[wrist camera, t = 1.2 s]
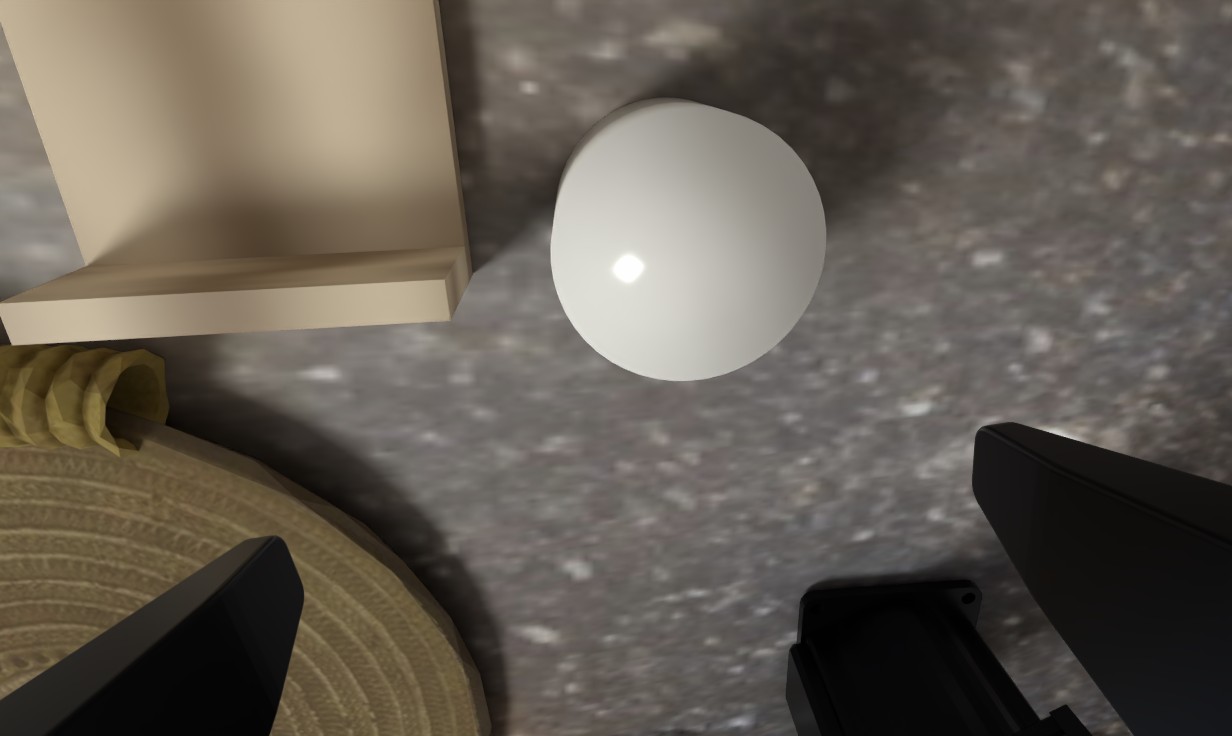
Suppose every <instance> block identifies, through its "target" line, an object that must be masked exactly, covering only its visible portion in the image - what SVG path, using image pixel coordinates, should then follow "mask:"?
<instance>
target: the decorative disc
mask: <svg viewBox="0 0 1232 736" xmlns="http://www.w3.org/2000/svg"><path fill="white" fill-rule="evenodd" d="M164 361H165V359H163V358H161V357H159V356H158V355H156V354H153V353H151V352H149V351H147V350H144V349H139V350H133V351H127V352H121V351H116V350H112V349H107V348H98V349H93V350H89V349H86V348H84V347H82V346H79V345H61V346H56V347H52V346H49V345H46V344H28V345H12V344H10V345H2V344H0V700H1V699H2V698H4V697H5V696H7V695H8V694H10V693H11V692H13V691H15V690H16V689H18V688H19V687H21V686H22V685H24V684H25V683H27V682H28V681H30V680H31V679H33V678H34V677H36V676H37V675H39V674H41V673H42V672H44V671H45V670H47V669H48V668H50V667H51V666H53V665H54V664H56V663H57V662H59V661H60V660H62V659H63V658H65V657H67V656H68V655H70V654H71V653H73V652H74V651H76V650H77V649H79V648H80V647H82V646H83V645H85V644H86V643H88V642H89V641H91V640H93V639H94V638H96V637H97V636H99V635H100V634H102V633H103V632H105V631H106V630H108V629H109V628H111V627H112V626H114V625H116V624H117V623H119V622H120V621H122V620H123V619H125V618H126V617H128V616H129V615H131V614H132V613H134V612H135V611H137V610H138V609H140V608H142V607H143V606H145V605H146V604H148V603H149V602H151V601H152V600H154V599H155V598H157V597H158V596H160V595H161V594H163V593H164V592H166V591H168V590H169V589H171V588H172V587H174V586H175V585H177V584H178V583H180V582H181V581H183V580H184V579H186V578H187V577H189V576H190V575H192V574H194V573H195V572H197V571H198V570H200V569H201V568H203V567H204V566H206V565H207V564H209V563H210V562H212V561H213V560H215V559H217V558H218V557H220V556H221V555H223V554H224V553H226V552H227V551H229V550H230V549H232V548H233V547H235V546H236V545H238V544H239V543H241V542H243V541H244V540H247V539H251V538H257V537H264V536H270V535H277V536H279V537H281V538H282V539H283V540H284V541H285V543H286V545H287V547H288V549H289V552H290V554H291V556H292V559H293V561H294V564H295V566H296V569H297V571H298V573H299V576H300V578H301V581H302V584H303V587H304V605H303V609H302V614H301V618H300V622H299V626H298V630H297V634H296V639H295V643H294V647H293V651H292V655H291V659H290V663H289V668H288V672H287V676H286V680H285V684H284V688H283V692H282V696H281V700H280V704H279V707H278V711H277V714H276V718H275V721H274V724H273V727H272V730H271V733H270V736H491V727H492V726H491V721H490V717H489V712H488V708H487V703H486V699H485V694H484V690H483V685H482V681H481V676H480V673H479V671H478V669H477V667H476V665H475V663H474V661H473V659H472V657H471V655H470V654H469V652H468V650H467V648H466V646H465V644H464V642H463V640H462V638H461V636H460V634H459V632H458V630H457V628H456V627H455V625H454V623H453V621H452V619H451V617H450V616H449V615H448V613H447V612H446V611H445V610H444V608H443V607H442V606H441V605H440V604H439V603H438V601H437V600H436V599H435V598H434V597H433V596H432V594H431V593H430V592H429V591H428V590H427V589H426V587H425V586H424V585H423V584H422V583H421V582H420V580H419V579H418V578H417V577H416V576H415V575H414V573H413V572H412V571H411V570H410V569H409V567H408V566H407V565H406V564H405V563H404V562H403V561H402V560H401V559H400V558H399V557H398V556H397V555H396V554H395V553H394V552H393V551H392V550H391V549H390V548H389V547H388V546H387V545H386V544H385V543H384V542H383V541H382V540H381V539H380V538H379V537H378V536H377V535H376V534H375V533H374V532H373V531H372V530H371V529H370V528H369V527H368V526H367V525H365V524H364V523H362V522H360V521H359V520H357V519H355V518H354V517H352V516H350V515H349V514H347V513H345V512H344V511H342V510H340V509H339V508H337V507H335V506H334V505H332V504H330V503H329V502H327V501H325V500H324V499H322V498H320V497H319V496H317V495H315V494H314V493H312V492H310V491H309V490H307V489H305V488H304V487H302V486H300V485H299V484H297V483H295V482H294V481H292V480H290V479H289V478H287V477H285V476H284V475H282V474H280V473H279V472H277V471H275V470H274V469H272V468H270V467H269V466H267V465H265V464H264V463H262V462H260V461H259V460H257V459H255V458H253V457H250V456H247V455H244V454H242V453H239V452H236V451H234V450H231V449H228V448H225V447H223V446H220V445H217V444H215V443H212V442H209V441H207V440H204V439H201V438H198V437H196V436H193V435H190V434H188V433H185V432H182V431H179V430H177V429H174V428H171V427H169V426H166V425H165V423H166V419H167V415H168V411H169V407H170V405H169V402H168V398H167V393H166V385H165V367H164Z"/></svg>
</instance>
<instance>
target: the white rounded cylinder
mask: <svg viewBox="0 0 1232 736" xmlns="http://www.w3.org/2000/svg"><path fill="white" fill-rule="evenodd" d="M825 251H826V224H825V215H824V210H823V206H822V202H821V198H820V195H819V192H818V190H817V187H816V185H815V183H814V180H813V178H812V176H811V175H810V173H809V171H808V169H807V168H806V166H805V164H804V163H803V161H802V160H801V159H800V158H799V157H798V155H797V154H796V153H795V152H794V150H793V149H792V148H791V147H790V146H789V145H788V144H787V143H786V142H784V141H783V140H782V139H781V138H780V137H779V136H778V135H776V134H775V133H773V132H772V131H770V130H769V129H768V128H766V127H765V126H763V125H761V124H759V123H757V122H755V121H753V120H751V119H749V118H747V117H744V116H741V115H738V114H735V113H731V112H728V111H725V110H722V109H718V108H715V107H712V106H708V105H705V104H701V103H698V102H695V101H691V100H686V99H680V98H663V97H661V98H652V99H645V100H641V101H638V102H634V103H631V104H628V105H626V106H624V107H621V108H619V109H617V110H615V111H613V112H612V113H610V114H608V115H607V116H605V117H604V118H602V119H601V120H600V121H599V122H597V123H596V124H595V125H594V126H593V127H592V128H591V129H590V130H589V131H588V132H587V133H586V134H585V135H584V136H583V137H582V138H581V140H580V141H579V142H578V144H577V145H576V146H575V148H574V149H573V151H572V153H571V155H570V156H569V158H568V160H567V162H566V165H565V167H564V170H563V172H562V174H561V178H560V182H559V186H558V191H557V199H556V207H555V214H554V222H553V230H552V238H551V266H552V273H553V280H554V283H555V287H556V290H557V294H558V297H559V299H560V302H561V304H562V306H563V308H564V311H565V313H566V314H567V316H568V318H569V319H570V321H571V323H572V324H573V326H574V327H575V329H576V330H577V331H578V332H579V334H580V335H581V336H582V337H583V338H584V340H585V341H586V342H587V343H588V344H590V345H591V346H592V347H593V348H594V349H595V350H596V351H597V352H598V353H600V354H601V355H603V356H604V357H605V358H607V359H608V360H609V361H611V362H613V363H615V364H617V365H618V366H620V367H622V368H624V369H626V370H629V371H632V372H634V373H637V374H639V375H643V376H647V377H651V378H655V379H662V380H670V381H692V380H700V379H707V378H711V377H715V376H720V375H723V374H726V373H729V372H731V371H734V370H737V369H739V368H741V367H743V366H745V365H747V364H749V363H751V362H753V361H755V360H756V359H758V358H759V357H761V356H762V355H764V354H765V353H767V352H768V351H769V350H770V349H772V348H773V347H774V346H775V345H776V344H778V343H779V342H780V341H781V340H782V339H783V338H784V337H785V336H786V335H787V334H788V333H789V332H790V330H791V329H792V328H793V327H794V326H795V324H796V323H797V322H798V320H799V319H800V318H801V316H802V315H803V313H804V312H805V310H806V308H807V306H808V305H809V303H810V301H811V299H812V297H813V295H814V292H815V290H816V288H817V285H818V283H819V279H820V276H821V272H822V269H823V265H824V258H825Z"/></svg>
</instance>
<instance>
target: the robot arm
mask: <svg viewBox="0 0 1232 736" xmlns="http://www.w3.org/2000/svg"><path fill="white" fill-rule="evenodd" d="M972 487H973V492H974V495H975V498H976V500H977V502H978V504H979V506H980V507H981V509H982V511H983V513H984V514H985V516H986V518H987V519H988V521H989V523H990V525H991V526H992V528H993V530H994V532H995V533H996V535H997V537H998V538H999V540H1000V542H1001V544H1002V545H1003V547H1004V549H1005V551H1006V552H1007V554H1008V556H1009V557H1010V559H1011V561H1012V563H1013V564H1014V566H1015V568H1016V570H1017V571H1018V573H1019V575H1020V576H1021V578H1022V580H1023V582H1024V583H1025V585H1026V587H1027V588H1028V590H1029V591H1030V593H1031V595H1032V596H1033V598H1034V599H1035V601H1036V602H1037V604H1038V605H1039V607H1040V608H1041V609H1042V611H1043V612H1044V614H1045V615H1046V617H1047V618H1048V619H1049V621H1050V622H1051V623H1052V625H1053V626H1054V627H1055V629H1056V630H1057V632H1058V633H1059V634H1060V636H1061V637H1062V638H1063V640H1064V641H1065V642H1066V644H1067V645H1068V647H1069V648H1070V649H1071V651H1072V652H1073V653H1074V655H1075V656H1076V657H1077V659H1078V660H1079V662H1080V663H1081V664H1082V666H1083V667H1084V668H1085V670H1086V671H1087V672H1088V674H1089V675H1090V677H1091V678H1092V679H1093V681H1094V682H1095V683H1096V685H1097V686H1098V687H1099V689H1100V690H1101V692H1102V693H1103V694H1104V696H1105V697H1106V698H1107V700H1108V701H1109V702H1110V704H1111V705H1112V707H1113V708H1114V709H1115V711H1116V712H1117V713H1118V715H1119V716H1120V717H1121V719H1122V720H1123V722H1124V723H1125V724H1126V726H1127V727H1128V728H1129V730H1130V731H1131V732H1132V734H1133V735H1134V736H1232V486H1231V485H1227V484H1224V483H1220V482H1217V481H1214V480H1210V479H1207V478H1203V477H1200V476H1196V475H1193V474H1190V473H1186V472H1183V471H1179V470H1176V469H1172V468H1169V467H1166V466H1162V465H1159V464H1155V463H1152V462H1149V461H1145V460H1142V459H1138V458H1135V457H1131V456H1128V455H1125V454H1121V453H1118V452H1114V451H1111V450H1107V449H1104V448H1101V447H1097V446H1094V445H1090V444H1087V443H1084V442H1080V441H1077V440H1073V439H1070V438H1066V437H1063V436H1060V435H1056V434H1053V433H1049V432H1046V431H1042V430H1039V429H1036V428H1032V427H1029V426H1025V425H1022V424H1018V423H1014V422H1006V423H1000V424H993V425H987V426H983V427H981V428H980V429H979V430H978V431H977V433H976V436H975V445H974V459H973V473H972ZM967 593H968V594H967ZM965 594H967V595H965ZM964 595H965V596H964ZM981 600H982V593H981V591H980V590H979V588H978V587H977V586H976V585H975V583H974V582H972V581H970V580H957V581H942V582H928V583H914V584H900V585H886V586H872V587H858V588H844V589H829V590H815V591H810V592H808V593H806V594H805V595H804V596H803V597H802V598H801V601H800V608H799V620H798V632H797V644H793V645H792V647H791V648H790V650H789V658H788V671H787V684H786V700H787V703H788V706H789V709H790V712H791V715H792V718H793V721H794V724H795V727H796V730H797V733H798V736H1092V735H1091V733H1090V732H1089V731H1088V730H1087V729H1086V727H1085V726H1084V725H1083V724H1082V723H1081V721H1080V720H1079V719H1078V718H1077V717H1076V715H1075V714H1074V713H1073V712H1072V711H1071V709H1070V708H1069V707H1068V706H1067V705H1066V704H1065V705H1063V706H1061V707H1059V708H1057V709H1055V710H1053V711H1051V712H1049V713H1050V715H1051V716H1049V717H1047V718H1045V719H1043V720H1040V718H1039V717H1038V715H1037V714H1036V713H1035V711H1034V710H1033V708H1032V707H1031V706H1030V704H1029V703H1028V701H1027V700H1026V699H1025V697H1024V696H1023V694H1022V693H1021V692H1020V690H1019V689H1018V687H1017V686H1016V684H1015V683H1014V682H1013V680H1012V679H1011V677H1010V676H1009V675H1008V673H1007V672H1006V670H1005V669H1004V668H1003V666H1002V665H1001V663H1000V662H999V661H998V659H997V658H996V656H995V655H994V654H993V652H992V651H991V649H990V648H989V647H988V645H987V644H986V642H985V641H984V640H983V638H982V637H981V635H980V634H979V633H978V631H977V630H976V624H977V619H978V614H979V609H980V605H981ZM815 604H819V605H817V606H815V607H812V606H813V605H815ZM303 605H304V587H303V584H302V581H301V578H300V576H299V573H298V571H297V569H296V566H295V564H294V561H293V559H292V556H291V554H290V552H289V549H288V547H287V545H286V543H285V541H284V540H283V539H282V538H281V537H279V536H277V535H270V536H264V537H257V538H251V539H247V540H244V541H243V542H241V543H239V544H238V545H236V546H235V547H233V548H232V549H230V550H229V551H227V552H226V553H224V554H223V555H221V556H220V557H218V558H217V559H215V560H213V561H212V562H210V563H209V564H207V565H206V566H204V567H203V568H201V569H200V570H198V571H197V572H195V573H194V574H192V575H190V576H189V577H187V578H186V579H184V580H183V581H181V582H180V583H178V584H177V585H175V586H174V587H172V588H171V589H169V590H168V591H166V592H164V593H163V594H161V595H160V596H158V597H157V598H155V599H154V600H152V601H151V602H149V603H148V604H146V605H145V606H143V607H142V608H140V609H138V610H137V611H135V612H134V613H132V614H131V615H129V616H128V617H126V618H125V619H123V620H122V621H120V622H119V623H117V624H116V625H114V626H112V627H111V628H109V629H108V630H106V631H105V632H103V633H102V634H100V635H99V636H97V637H96V638H94V639H93V640H91V641H89V642H88V643H86V644H85V645H83V646H82V647H80V648H79V649H77V650H76V651H74V652H73V653H71V654H70V655H68V656H67V657H65V658H63V659H62V660H60V661H59V662H57V663H56V664H54V665H53V666H51V667H50V668H48V669H47V670H45V671H44V672H42V673H41V674H39V675H37V676H36V677H34V678H33V679H31V680H30V681H28V682H27V683H25V684H24V685H22V686H21V687H19V688H18V689H16V690H15V691H13V692H11V693H10V694H8V695H7V696H5V697H4V698H2V699H1V700H0V736H270V733H271V730H272V727H273V724H274V721H275V718H276V714H277V711H278V707H279V704H280V700H281V696H282V692H283V688H284V684H285V680H286V676H287V672H288V668H289V663H290V659H291V655H292V651H293V647H294V643H295V639H296V634H297V630H298V626H299V622H300V618H301V614H302V609H303Z"/></svg>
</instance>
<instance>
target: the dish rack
mask: <svg viewBox="0 0 1232 736" xmlns="http://www.w3.org/2000/svg"><path fill="white" fill-rule="evenodd" d="M0 21H1V24H2V27H3V30H4V33H5V36H6V38H7V41H8V44H9V47H10V50H11V53H12V56H13V59H14V61H15V64H16V67H17V70H18V73H19V76H20V79H21V81H22V84H23V87H24V90H25V93H26V96H27V99H28V101H29V104H30V107H31V110H32V113H33V116H34V119H35V121H36V124H37V127H38V130H39V133H40V136H41V139H42V141H43V144H44V147H45V150H46V153H47V156H48V159H49V162H50V164H51V167H52V170H53V173H54V176H55V179H56V182H57V184H58V187H59V190H60V193H61V196H62V199H63V202H64V204H65V207H66V210H67V213H68V216H69V219H70V222H71V224H72V227H73V230H74V233H75V236H76V239H77V242H78V244H79V247H80V250H81V253H82V256H83V259H84V262H85V265H86V267H83V268H81V269H78V270H76V271H74V272H71V273H69V274H66V275H64V276H61V277H59V278H57V279H54V280H52V281H49V282H47V283H45V284H42V285H40V286H37V287H35V288H32V289H30V290H28V291H25V292H23V293H20V294H18V295H15V296H13V297H11V298H8V299H6V300H3V301H1V302H0V317H1V319H2V322H3V324H4V327H5V329H6V332H7V334H8V336H9V339H10V341H11V344H12V345H28V344H46V343H63V342H81V341H99V340H117V339H134V338H152V337H170V336H188V335H206V334H223V333H241V332H259V331H277V330H294V329H312V328H330V327H348V326H365V325H383V324H401V323H419V322H437V321H450V320H451V318H452V316H453V314H454V312H455V310H456V308H457V306H458V304H459V302H460V300H461V298H462V296H463V294H464V292H465V289H466V287H467V285H468V283H469V281H470V279H471V277H472V275H473V271H472V263H471V255H470V247H469V239H468V231H467V223H466V215H465V207H464V199H463V191H462V183H461V175H460V167H459V159H458V151H457V143H456V135H455V127H454V120H453V112H452V104H451V96H450V88H449V80H448V72H447V64H446V56H445V48H444V40H443V32H442V24H441V16H440V8H439V0H0Z"/></svg>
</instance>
